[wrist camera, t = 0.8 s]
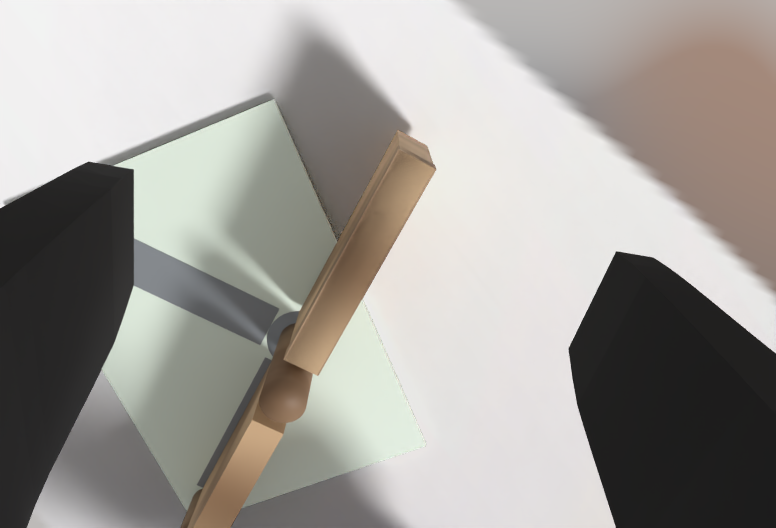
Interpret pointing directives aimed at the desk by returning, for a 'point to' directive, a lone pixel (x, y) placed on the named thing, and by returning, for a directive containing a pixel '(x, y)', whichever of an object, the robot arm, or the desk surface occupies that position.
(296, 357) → the fence wing
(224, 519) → the fence fixed
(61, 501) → the desk surface
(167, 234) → the card
